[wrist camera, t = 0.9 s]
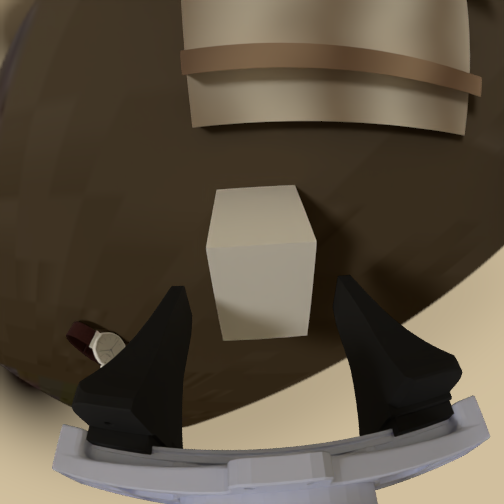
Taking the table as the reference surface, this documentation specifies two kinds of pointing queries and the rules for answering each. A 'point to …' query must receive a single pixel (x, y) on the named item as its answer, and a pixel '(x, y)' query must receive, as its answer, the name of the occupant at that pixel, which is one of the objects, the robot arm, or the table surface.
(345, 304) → the robot arm
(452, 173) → the table surface
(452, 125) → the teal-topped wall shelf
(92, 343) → the watch
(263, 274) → the beige rectangular block
